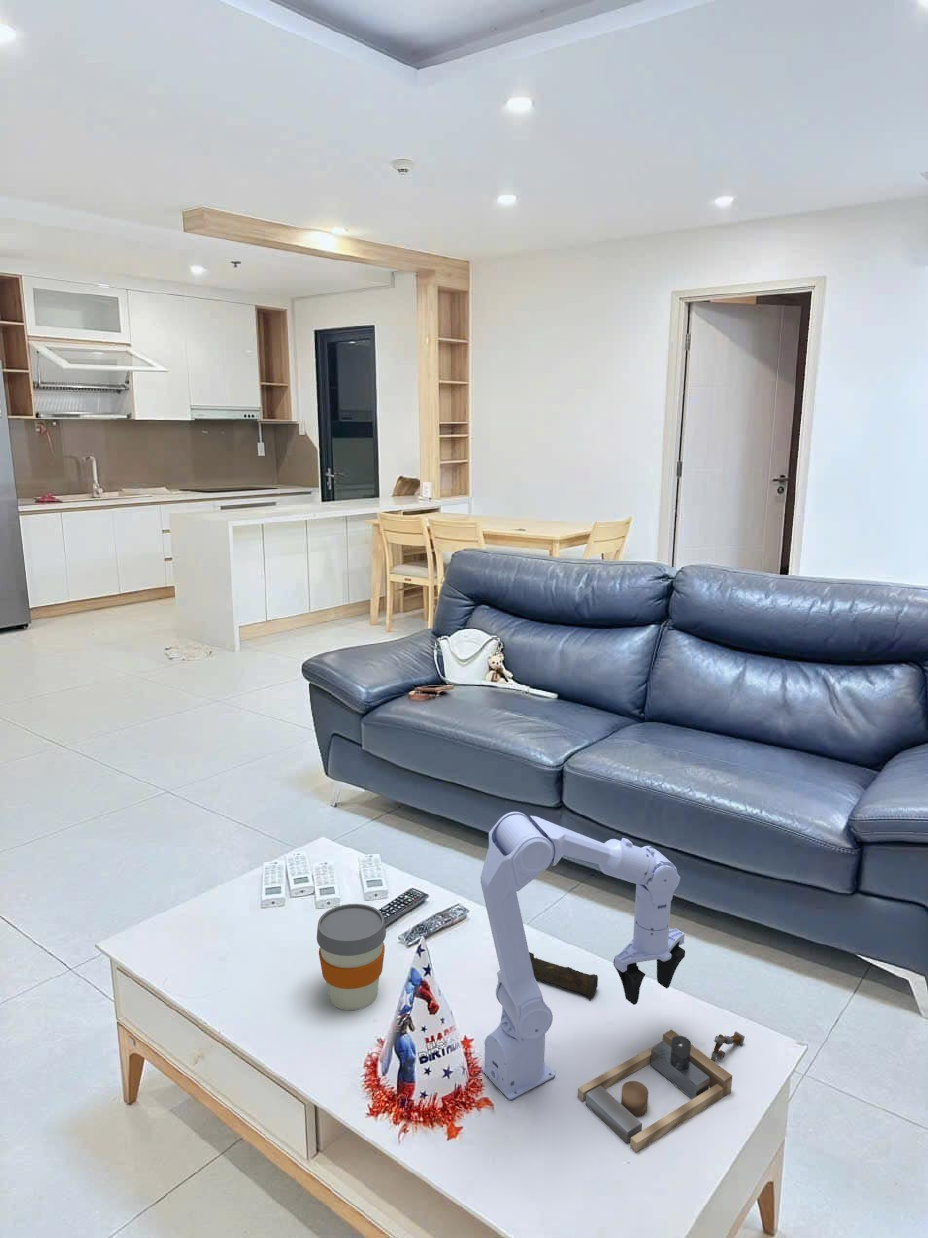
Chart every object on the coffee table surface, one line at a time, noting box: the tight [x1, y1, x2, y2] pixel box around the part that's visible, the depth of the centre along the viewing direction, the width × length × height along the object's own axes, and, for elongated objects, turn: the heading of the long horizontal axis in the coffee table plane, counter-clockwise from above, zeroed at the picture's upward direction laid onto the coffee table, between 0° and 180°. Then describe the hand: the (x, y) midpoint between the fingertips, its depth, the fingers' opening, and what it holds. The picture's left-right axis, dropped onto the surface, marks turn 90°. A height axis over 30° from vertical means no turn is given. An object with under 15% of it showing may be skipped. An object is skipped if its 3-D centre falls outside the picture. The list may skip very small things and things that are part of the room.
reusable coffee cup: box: [316, 903, 387, 1011], centre depth 158 cm, size 13×13×15 cm
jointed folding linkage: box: [710, 1031, 746, 1063], centre depth 145 cm, size 2×8×4 cm, turn 130°
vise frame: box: [577, 1029, 733, 1153], centre depth 136 cm, size 21×13×3 cm, turn 124°
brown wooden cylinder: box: [620, 1080, 649, 1118], centre depth 134 cm, size 4×4×3 cm
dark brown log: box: [529, 951, 599, 1000], centre depth 164 cm, size 19×4×5 cm, turn 60°
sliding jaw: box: [649, 1035, 710, 1100], centre depth 139 cm, size 3×10×7 cm, turn 34°
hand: (647, 992), depth 146 cm, fingers open, 7 cm apart
